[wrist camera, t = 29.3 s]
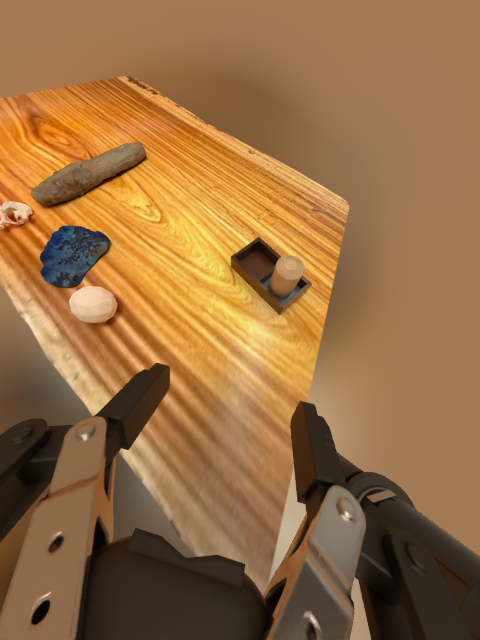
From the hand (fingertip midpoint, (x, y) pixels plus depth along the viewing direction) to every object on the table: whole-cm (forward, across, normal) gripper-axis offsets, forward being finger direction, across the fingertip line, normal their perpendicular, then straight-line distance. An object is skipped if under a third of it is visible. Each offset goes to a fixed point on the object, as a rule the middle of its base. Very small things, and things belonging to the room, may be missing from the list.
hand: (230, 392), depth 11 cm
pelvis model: (+38, +68, 0) cm, 78 cm away
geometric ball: (+25, +32, +13) cm, 43 cm away
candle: (+35, -5, +2) cm, 35 cm away
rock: (+33, +48, +5) cm, 58 cm away
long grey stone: (+53, +56, -15) cm, 78 cm away
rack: (+37, -2, +1) cm, 37 cm away
